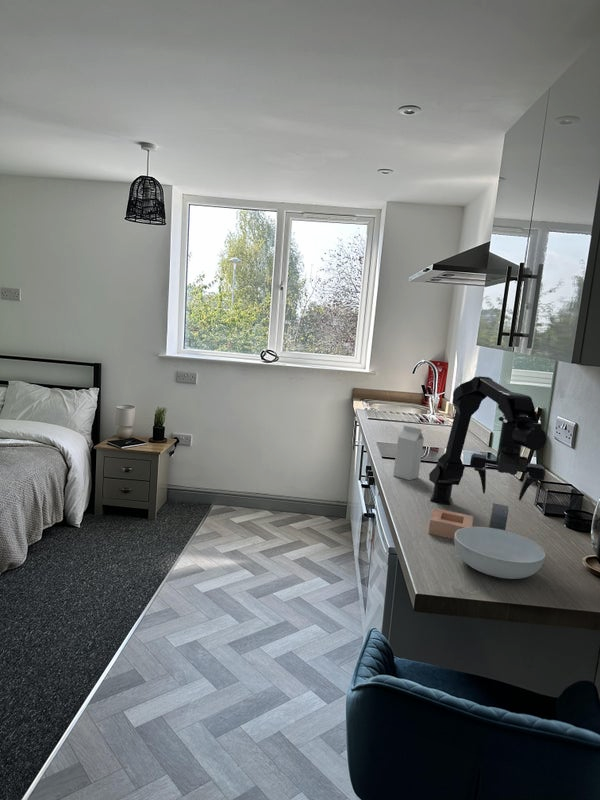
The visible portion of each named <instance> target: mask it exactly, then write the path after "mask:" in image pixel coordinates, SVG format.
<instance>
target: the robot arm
mask: <svg viewBox="0 0 600 800" xmlns="http://www.w3.org/2000/svg"><path fill="white" fill-rule="evenodd" d="M452 397H453V398H452V405H453V408H454V411H455V412H454V416H453V421H452V425H451V429H450V432H449V437H448V441H447V445H446V449H445V451H444V454H443V455H441V456H440V457H439V458H438V460H437V462H436V465H435V467H434V468H433V469H432V470H431V471H430V472H429V474H428V475H429V476H428V477H429V479H428V480H429V481H430V482H431V483H433V484H434V485H433V493H432V495H431V497H430V502H433V503H438V504H439V503H440V504H443V505H449V506H451V504H452V499H453V498H452V491H453V486H459V485H460V483H461V480H462V477H464V471H465V467H466V466H465V464H464V463H463V461H462V458H461V457H462V452H463V450H464V446H465V441H466V437H467V434H468V430H469V426H470V422H471V418H472V416H473V415H474V413H476V412H477V411H479V409H480V407H481V404H482V401H484V400H485V399H487V397H488V398H489V399H490V400H492V401H494V402H495V403H496V404H497V408H498V410H499V411H500V412H501V413H502V414H503V415H502V416H500V417H498V420H499V421H500V422H502V423H501V429H500V435H499V436H500V437H499V442H498V448H497V454H496V459H495V460H493V459H489V458H487V454H486V455H485V454H481V453H480V454H479V453H473V454H471V457H470V461H469V462H470V464H469V467H471V468H473V470H474V471H475V472H478V474H479V475H478V476H479V479H480V483H481V489H482V493H483V494H485V493H486V486H487V483H486V482H487V480H486V479H487V478H486V477H487V467H490V468H496V469H497V472H498V473H501V474H510V475H513V476H515V475H517V474H518V472H519V473H525V474H524V476H523V477H524V478H523V480H522V484H521V487H520V491H519V495H518V496H519V497H518V501H520V502H521V501H522V498H524V495H525V494H526V492H527V491H528V488H529V487H530V486H531V485H532V484H533V483H535V482H536V483H537V482H538V481H539V480H541V481H543V480H545V475H546V470H545V467H544V466H543V465H542V464H537V463H532V462H528V456H527V457H526V456H521V453H522V452H521V451H522V447H523V448H526V449H529V450H530V451H535V452H536V451H539V450H541V449H542V448H543V447H545V445H546V443H547V434H546V432H545V431H544V430H543V429H542V423H539V420H538V414H537V412H536V408H535V404H534V402H533V399H532V397H531V396H529V395H527V394H523V393H519V392H513V391H510V390H509V389H508V388H506V387H504V386H503V385H501V384H500V383H498V382H496V381H494V380H493V379H492V378H491V377H489V376H480V375H478V376H474V377H473V378H471V380H470V379H469V380H468V381H465V382H463V383H461V384H459V386H457V387H455V389H454V390H453V393H452ZM527 463H528V464H527Z"/></svg>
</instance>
